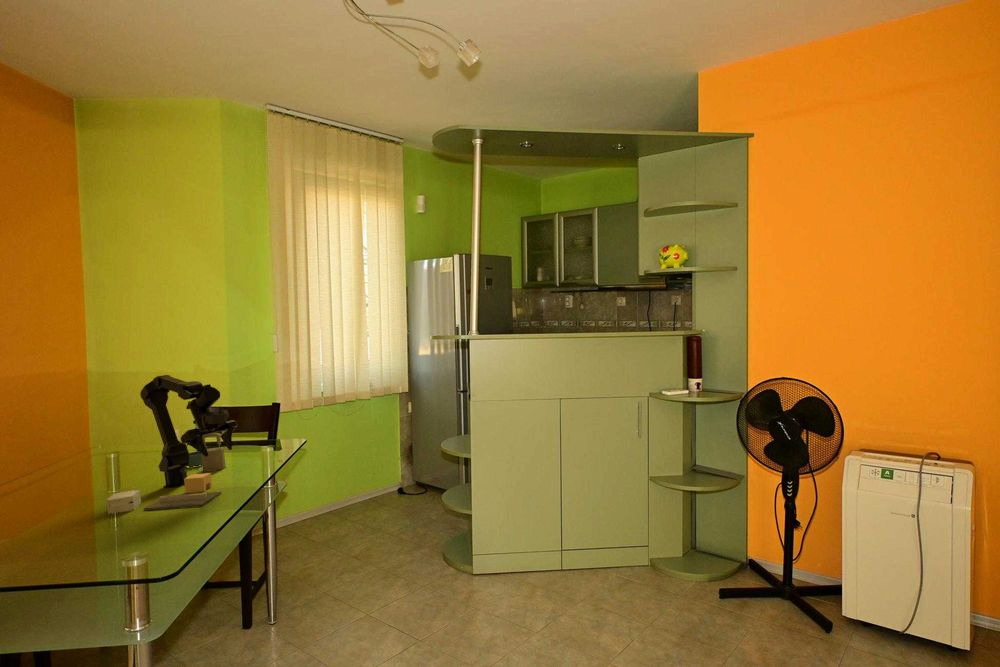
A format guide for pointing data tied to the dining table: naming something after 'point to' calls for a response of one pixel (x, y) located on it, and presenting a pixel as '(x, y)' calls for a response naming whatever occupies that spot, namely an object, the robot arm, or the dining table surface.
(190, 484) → the block
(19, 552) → the dining table surface
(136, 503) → the small box
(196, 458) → the bracket
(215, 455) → the padlock
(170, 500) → the plate
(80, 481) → the dining table surface
